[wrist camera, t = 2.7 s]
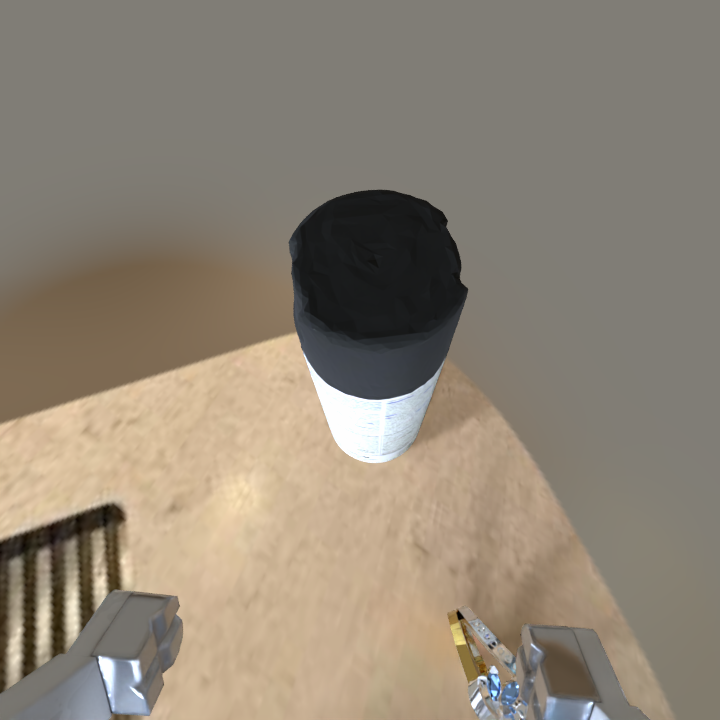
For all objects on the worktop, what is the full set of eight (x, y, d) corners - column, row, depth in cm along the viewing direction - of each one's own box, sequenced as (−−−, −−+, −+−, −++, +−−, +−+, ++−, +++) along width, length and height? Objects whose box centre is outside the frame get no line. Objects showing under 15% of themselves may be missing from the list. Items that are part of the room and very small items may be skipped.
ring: (526, 718, 26) (584, 781, 19) (475, 742, 26) (514, 815, 19) (473, 591, 29) (506, 603, 22) (427, 611, 29) (444, 629, 21)
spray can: (410, 371, 35) (448, 169, 17) (429, 459, 32) (497, 331, 14) (325, 385, 35) (267, 194, 17) (336, 473, 32) (283, 364, 14)
